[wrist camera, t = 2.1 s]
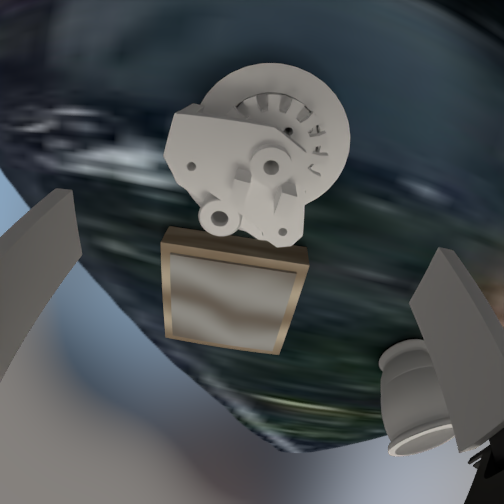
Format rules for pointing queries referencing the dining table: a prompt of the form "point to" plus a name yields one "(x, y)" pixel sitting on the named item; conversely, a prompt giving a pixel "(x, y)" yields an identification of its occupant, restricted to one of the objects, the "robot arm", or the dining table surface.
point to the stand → (229, 289)
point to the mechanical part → (259, 150)
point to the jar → (412, 400)
